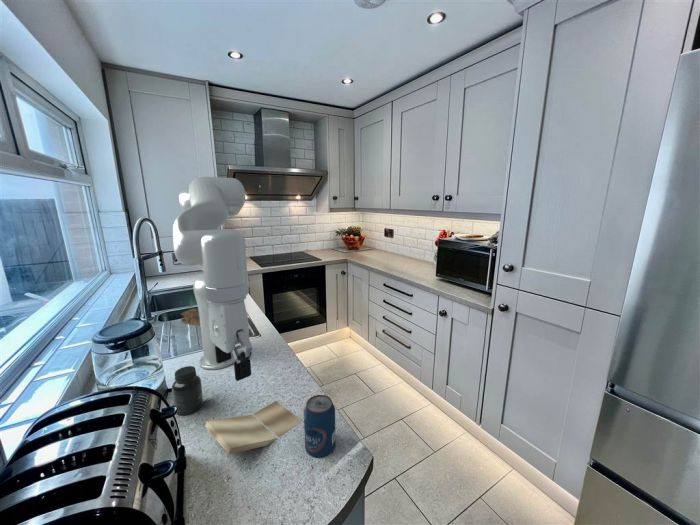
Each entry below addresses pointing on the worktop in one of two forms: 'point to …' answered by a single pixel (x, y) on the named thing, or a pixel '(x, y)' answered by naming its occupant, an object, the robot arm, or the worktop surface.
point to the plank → (240, 433)
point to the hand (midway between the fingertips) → (233, 368)
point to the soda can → (319, 426)
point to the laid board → (277, 418)
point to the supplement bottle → (187, 391)
